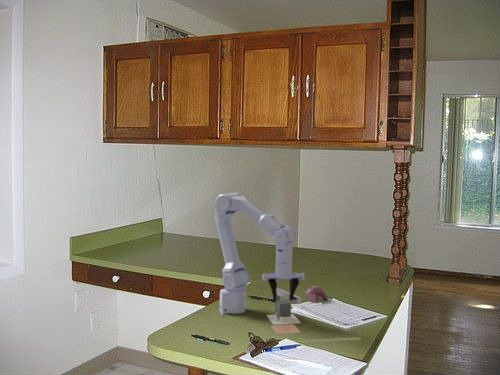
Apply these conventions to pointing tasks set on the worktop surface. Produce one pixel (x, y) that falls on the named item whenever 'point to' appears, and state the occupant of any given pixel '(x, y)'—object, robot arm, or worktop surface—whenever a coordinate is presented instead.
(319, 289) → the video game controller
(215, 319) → the worktop surface
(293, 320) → the socket
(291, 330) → the tile
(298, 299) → the white square rod
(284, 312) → the plug
